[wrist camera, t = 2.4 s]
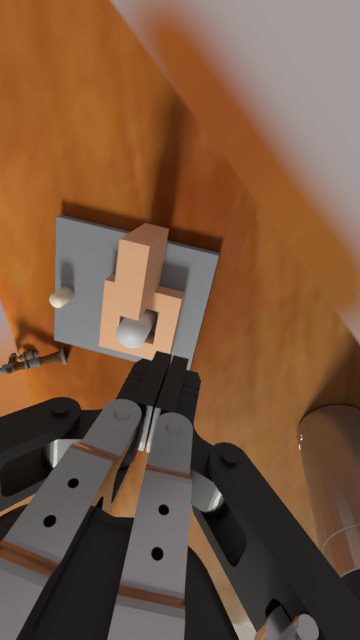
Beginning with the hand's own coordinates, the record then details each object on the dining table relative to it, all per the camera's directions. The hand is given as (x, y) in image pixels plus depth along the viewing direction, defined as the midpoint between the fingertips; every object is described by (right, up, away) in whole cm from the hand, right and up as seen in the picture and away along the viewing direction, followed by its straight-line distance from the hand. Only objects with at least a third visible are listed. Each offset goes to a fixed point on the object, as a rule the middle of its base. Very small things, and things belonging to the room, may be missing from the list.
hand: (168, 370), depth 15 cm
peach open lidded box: (-3, +5, +20) cm, 21 cm away
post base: (-5, +5, +22) cm, 23 cm away
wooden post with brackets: (-18, -2, +28) cm, 33 cm away
